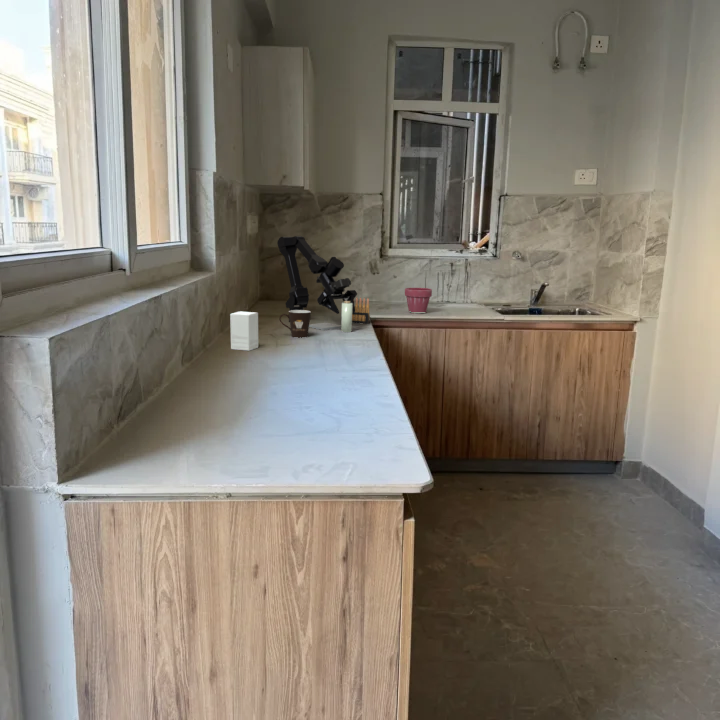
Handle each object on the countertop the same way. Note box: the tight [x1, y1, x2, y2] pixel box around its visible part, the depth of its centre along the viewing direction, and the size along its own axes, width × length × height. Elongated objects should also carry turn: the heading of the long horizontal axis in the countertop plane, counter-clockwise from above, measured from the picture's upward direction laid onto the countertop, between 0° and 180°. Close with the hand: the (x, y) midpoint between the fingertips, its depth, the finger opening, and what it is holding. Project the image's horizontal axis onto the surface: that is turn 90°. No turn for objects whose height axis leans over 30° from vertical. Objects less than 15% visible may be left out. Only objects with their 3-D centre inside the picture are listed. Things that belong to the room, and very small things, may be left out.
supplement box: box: [229, 310, 259, 351], centre depth 215 cm, size 7×7×13 cm
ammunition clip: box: [352, 297, 371, 325], centre depth 283 cm, size 11×2×12 cm, turn 78°
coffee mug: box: [278, 309, 312, 339], centre depth 243 cm, size 12×9×10 cm
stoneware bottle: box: [340, 301, 353, 333], centre depth 258 cm, size 4×4×13 cm
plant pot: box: [404, 287, 433, 313], centre depth 326 cm, size 14×14×13 cm
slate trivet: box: [309, 322, 341, 331], centre depth 267 cm, size 11×11×1 cm
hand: (346, 312), depth 258 cm, fingers open, 9 cm apart
